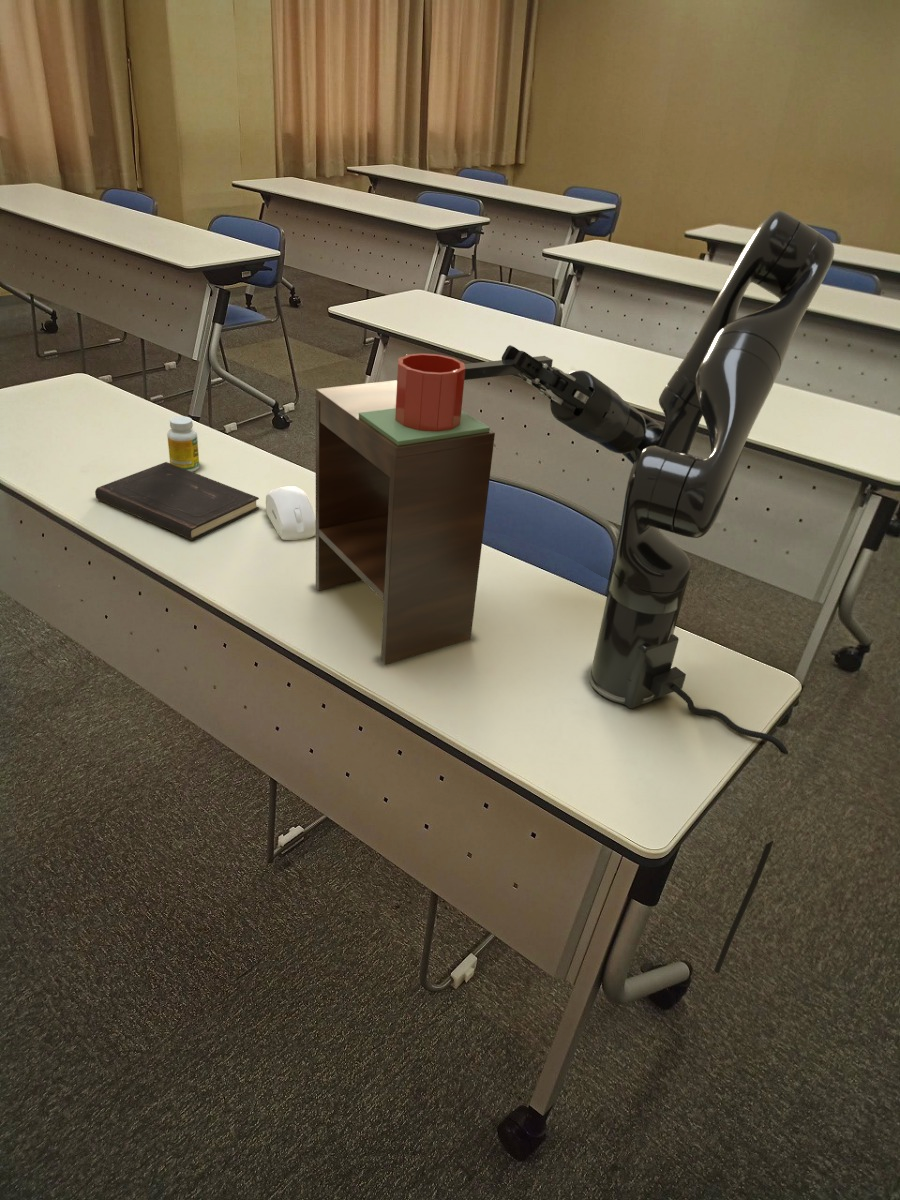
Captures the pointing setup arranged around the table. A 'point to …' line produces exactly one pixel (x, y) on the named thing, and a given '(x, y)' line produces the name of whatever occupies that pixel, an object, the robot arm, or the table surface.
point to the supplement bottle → (183, 443)
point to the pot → (440, 388)
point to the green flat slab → (406, 435)
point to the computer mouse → (291, 513)
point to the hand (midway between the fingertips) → (512, 355)
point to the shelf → (400, 519)
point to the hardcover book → (178, 500)
